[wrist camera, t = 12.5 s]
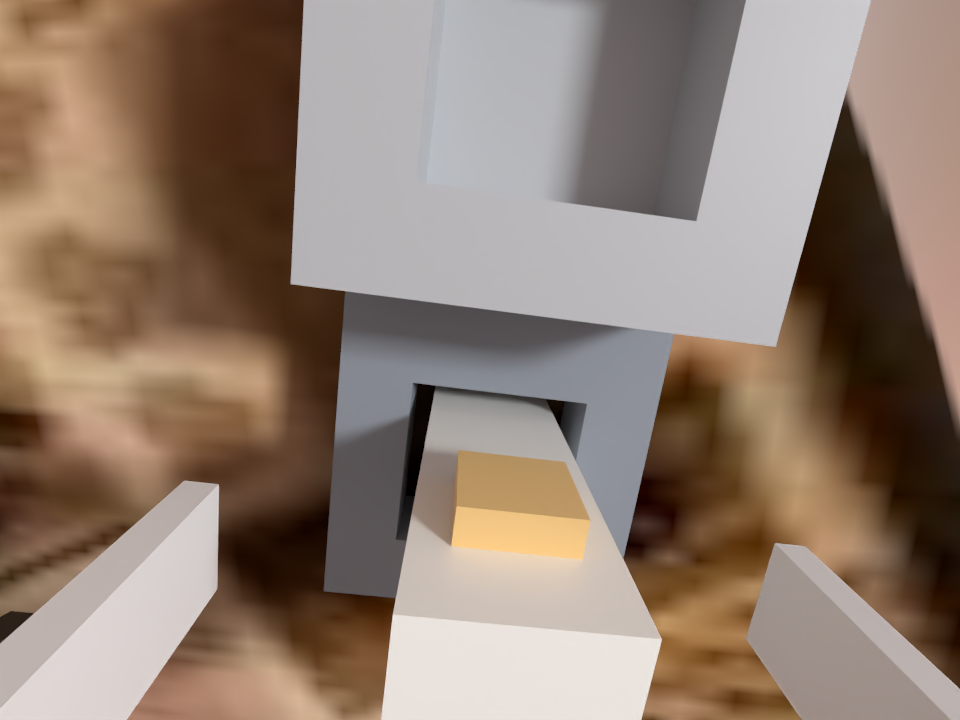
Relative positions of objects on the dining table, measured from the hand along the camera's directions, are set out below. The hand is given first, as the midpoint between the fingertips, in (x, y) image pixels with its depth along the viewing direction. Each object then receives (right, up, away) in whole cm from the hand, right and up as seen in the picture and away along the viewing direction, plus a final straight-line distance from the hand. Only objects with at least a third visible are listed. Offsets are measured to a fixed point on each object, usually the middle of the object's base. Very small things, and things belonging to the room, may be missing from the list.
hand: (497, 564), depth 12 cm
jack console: (0, +7, +6) cm, 9 cm away
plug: (0, +2, +7) cm, 8 cm away
